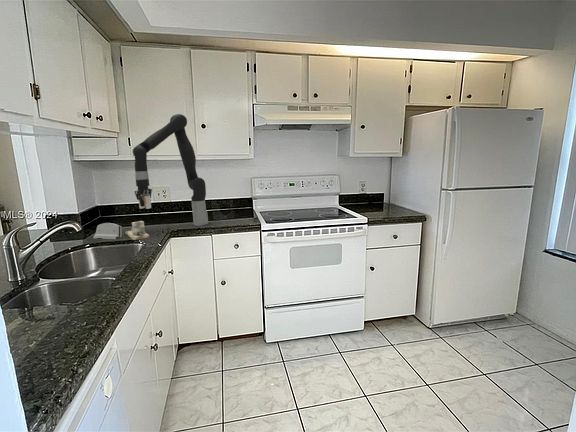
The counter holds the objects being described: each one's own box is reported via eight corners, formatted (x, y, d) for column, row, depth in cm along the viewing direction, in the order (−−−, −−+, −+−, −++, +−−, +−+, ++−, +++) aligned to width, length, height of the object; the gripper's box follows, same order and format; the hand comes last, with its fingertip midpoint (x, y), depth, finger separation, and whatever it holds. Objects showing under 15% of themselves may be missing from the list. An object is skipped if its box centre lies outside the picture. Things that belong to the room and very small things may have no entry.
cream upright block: (151, 208, 202) (150, 195, 201) (147, 209, 199) (146, 196, 197) (143, 207, 204) (141, 195, 202) (139, 208, 200) (137, 196, 198)
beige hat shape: (140, 231, 208) (138, 217, 206) (149, 237, 193) (147, 221, 191) (125, 234, 203) (123, 219, 201) (133, 239, 187) (131, 224, 186)
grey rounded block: (92, 238, 194) (95, 222, 196) (99, 238, 199) (101, 223, 200) (115, 239, 190) (117, 222, 192) (121, 239, 195) (123, 223, 196)
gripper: (144, 177, 205) (147, 204, 208) (128, 179, 192) (132, 207, 195) (154, 177, 204) (157, 204, 207) (139, 179, 190) (142, 207, 193)
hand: (144, 205), depth 201 cm, fingers closed on cream upright block, 4 cm apart
